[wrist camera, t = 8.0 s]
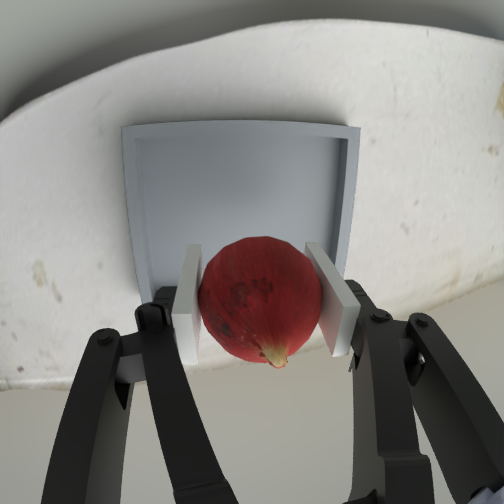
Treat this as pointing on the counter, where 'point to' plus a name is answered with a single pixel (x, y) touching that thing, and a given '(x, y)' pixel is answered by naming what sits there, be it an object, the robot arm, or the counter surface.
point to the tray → (235, 189)
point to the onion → (260, 299)
